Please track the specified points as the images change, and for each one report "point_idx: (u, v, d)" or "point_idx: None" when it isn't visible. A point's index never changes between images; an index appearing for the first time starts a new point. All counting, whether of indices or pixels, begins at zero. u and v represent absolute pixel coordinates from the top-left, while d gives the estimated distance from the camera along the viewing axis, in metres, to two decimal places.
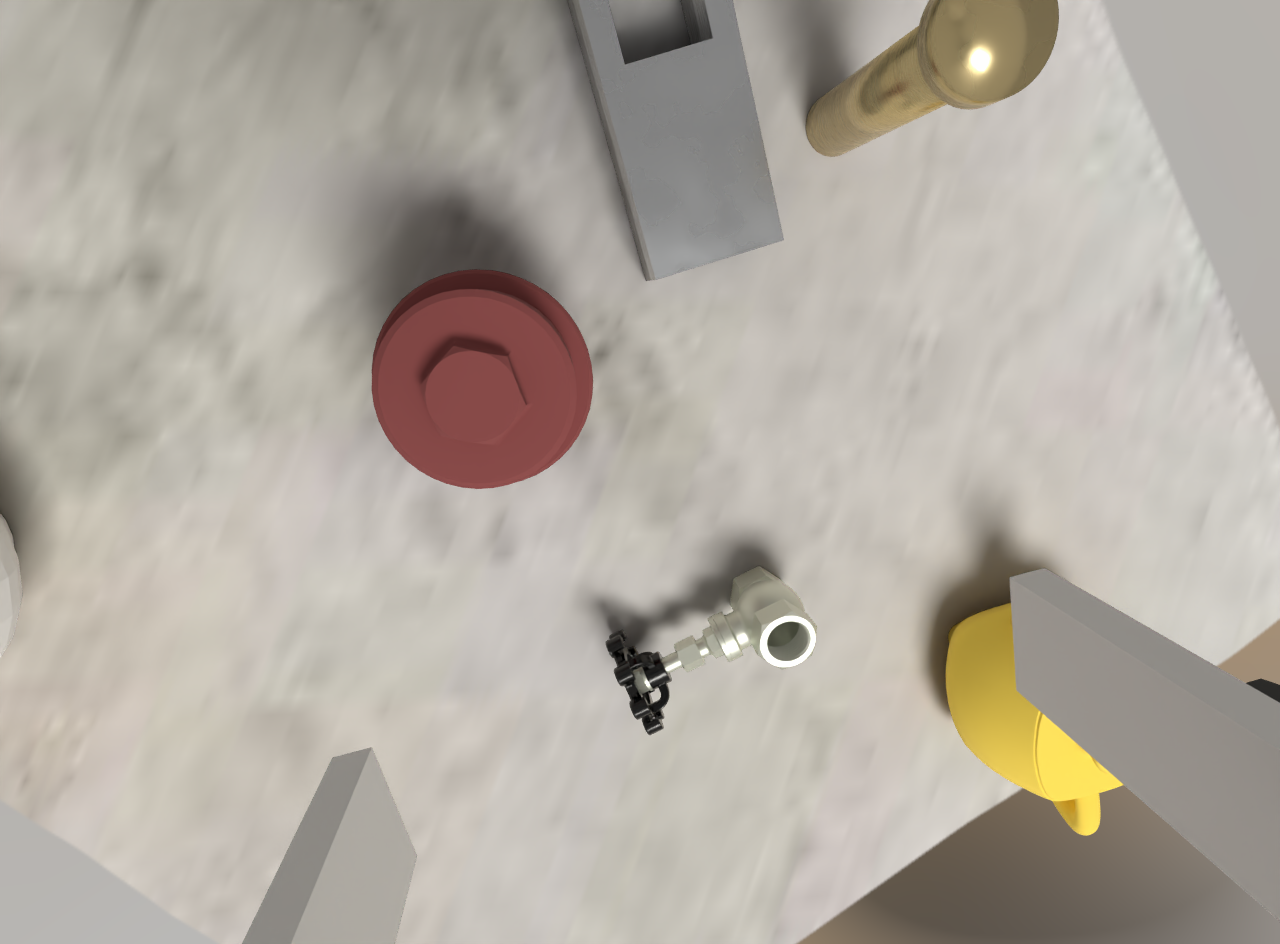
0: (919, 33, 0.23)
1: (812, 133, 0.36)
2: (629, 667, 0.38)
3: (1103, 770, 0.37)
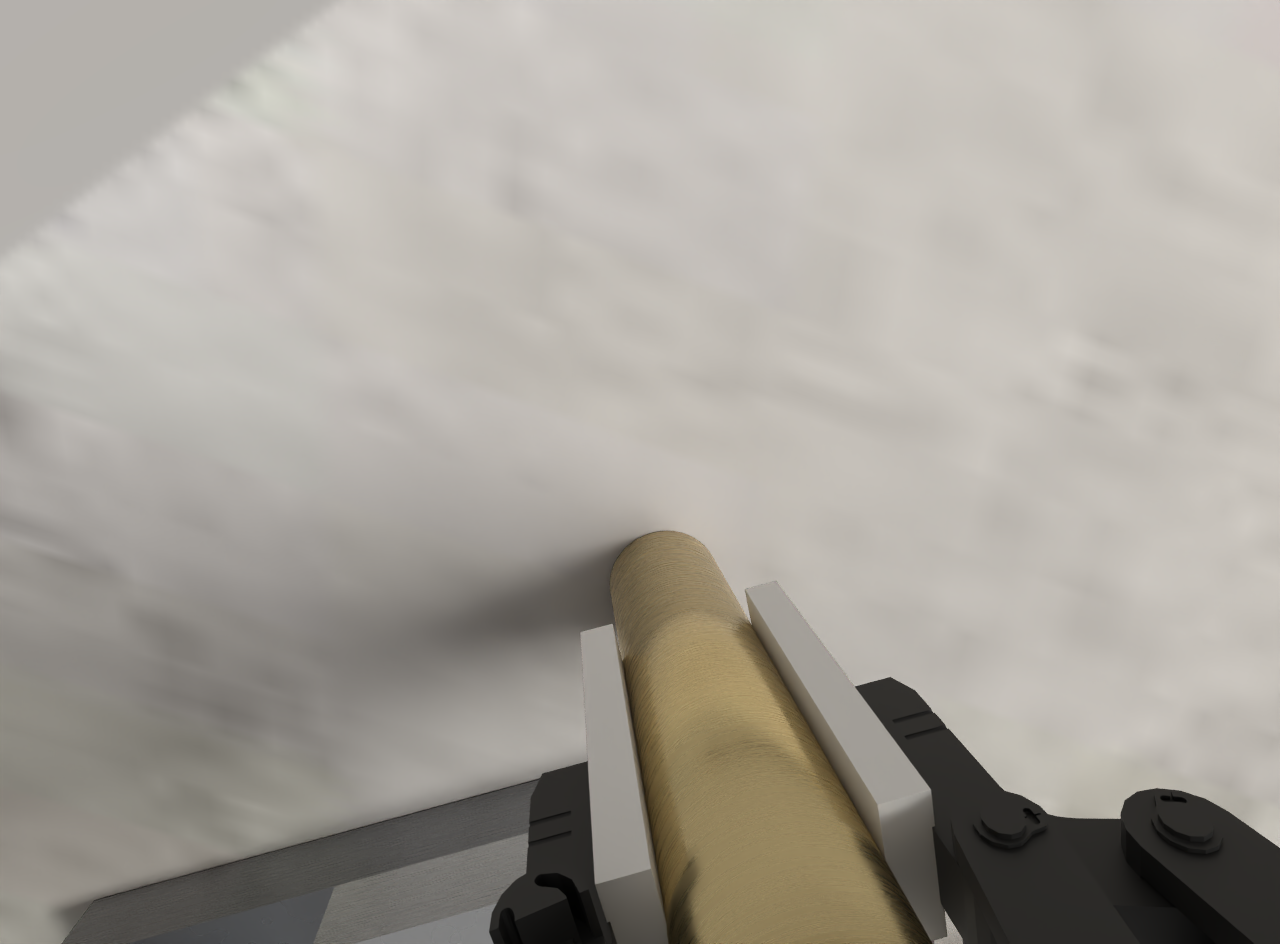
0: None
1: None
2: None
3: None
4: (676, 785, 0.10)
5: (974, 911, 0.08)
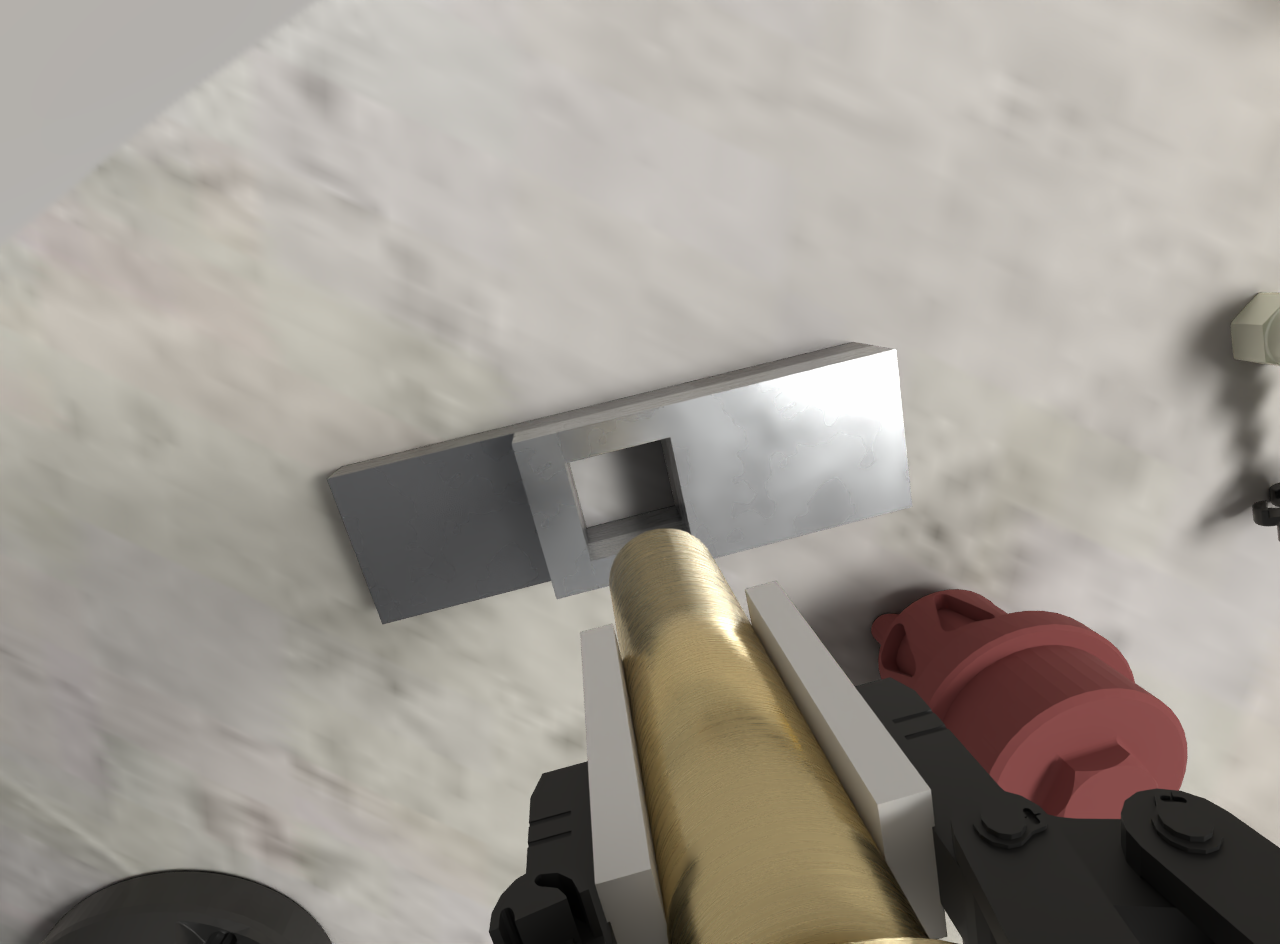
0: None
1: None
2: None
3: None
4: (674, 774, 0.10)
5: (974, 911, 0.08)
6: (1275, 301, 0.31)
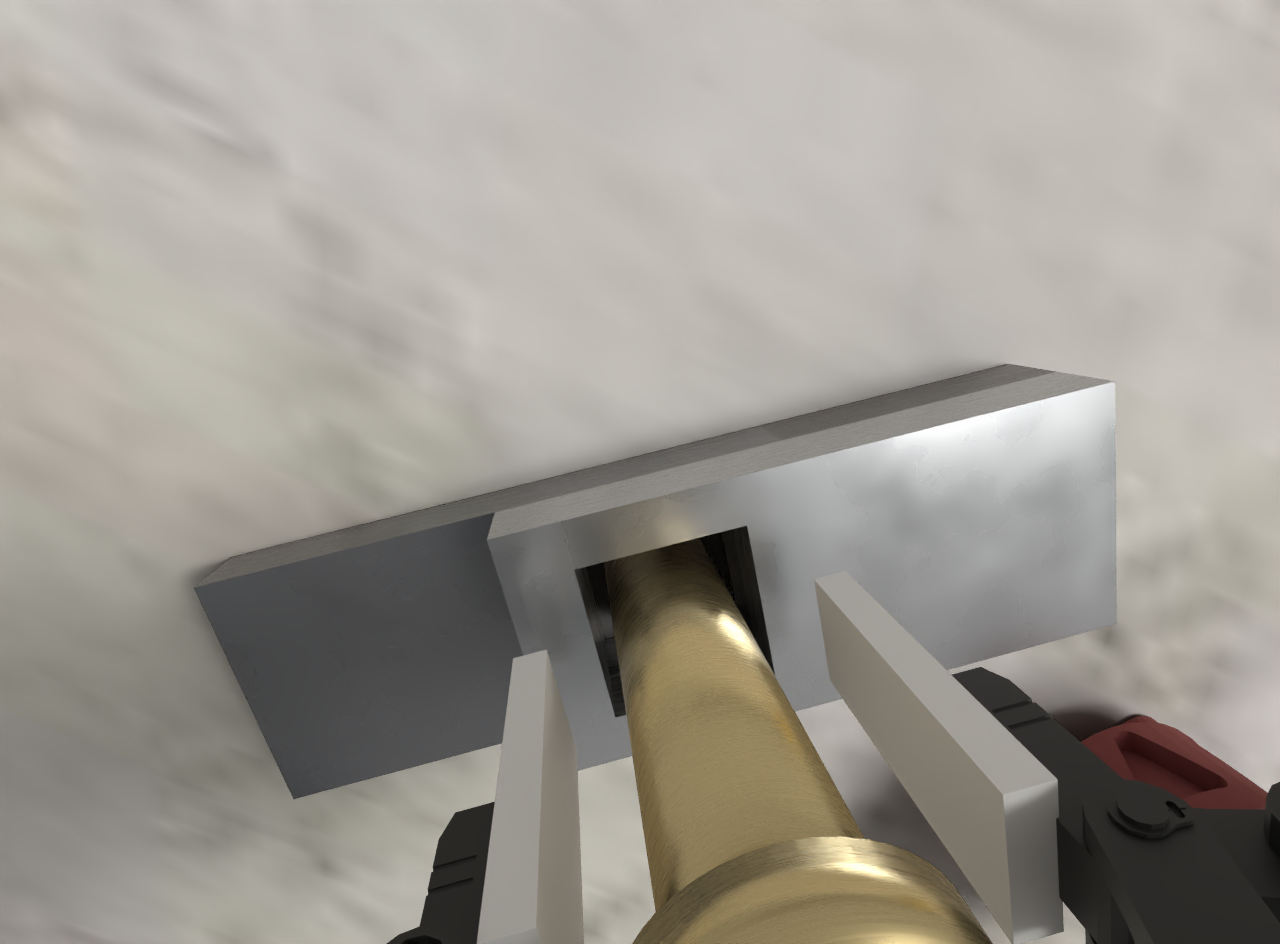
0: None
1: None
2: None
3: None
4: (656, 725, 0.11)
5: (1103, 898, 0.08)
6: None
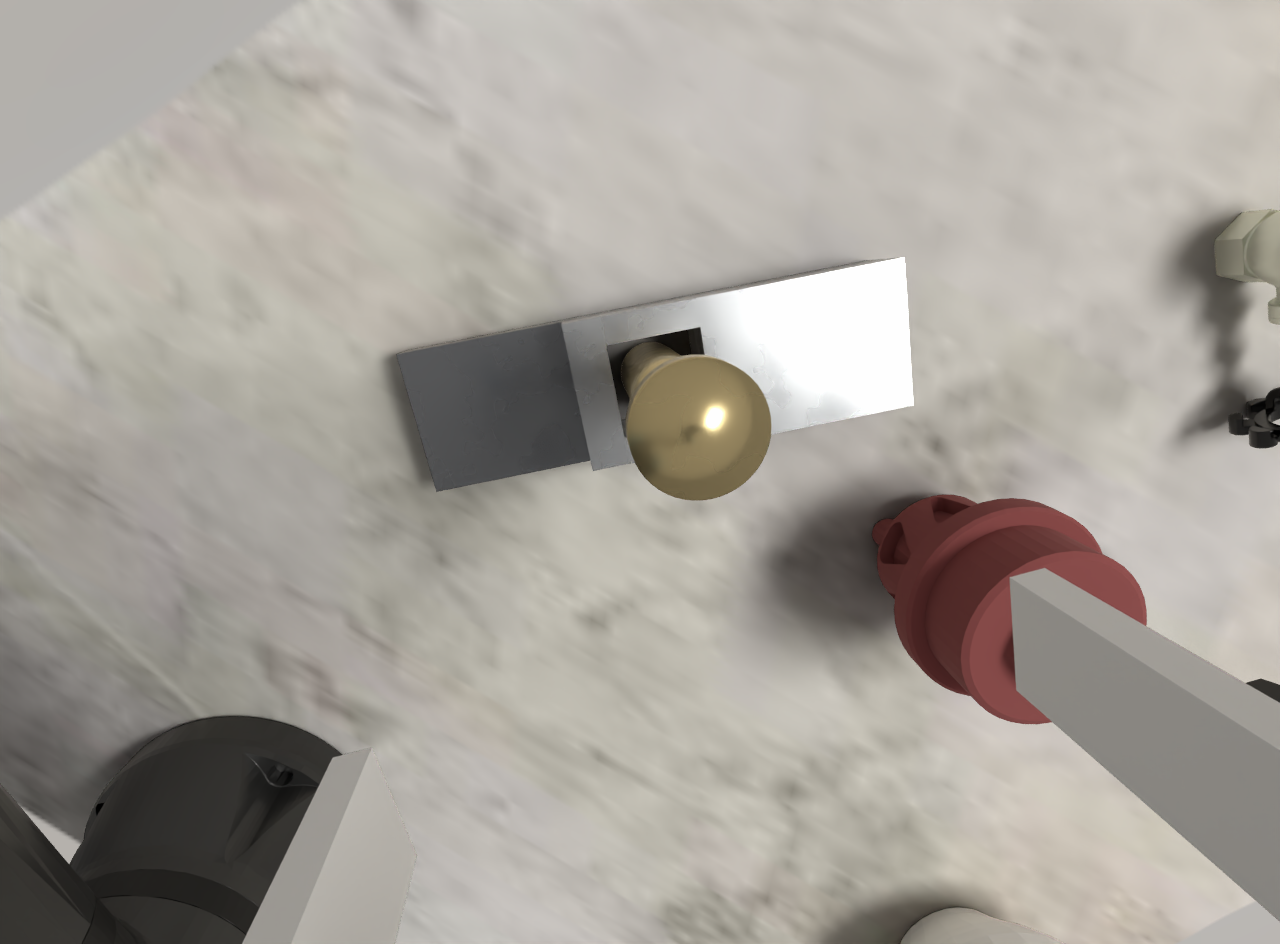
0: None
1: None
2: None
3: None
4: None
5: None
6: (1255, 218, 0.34)
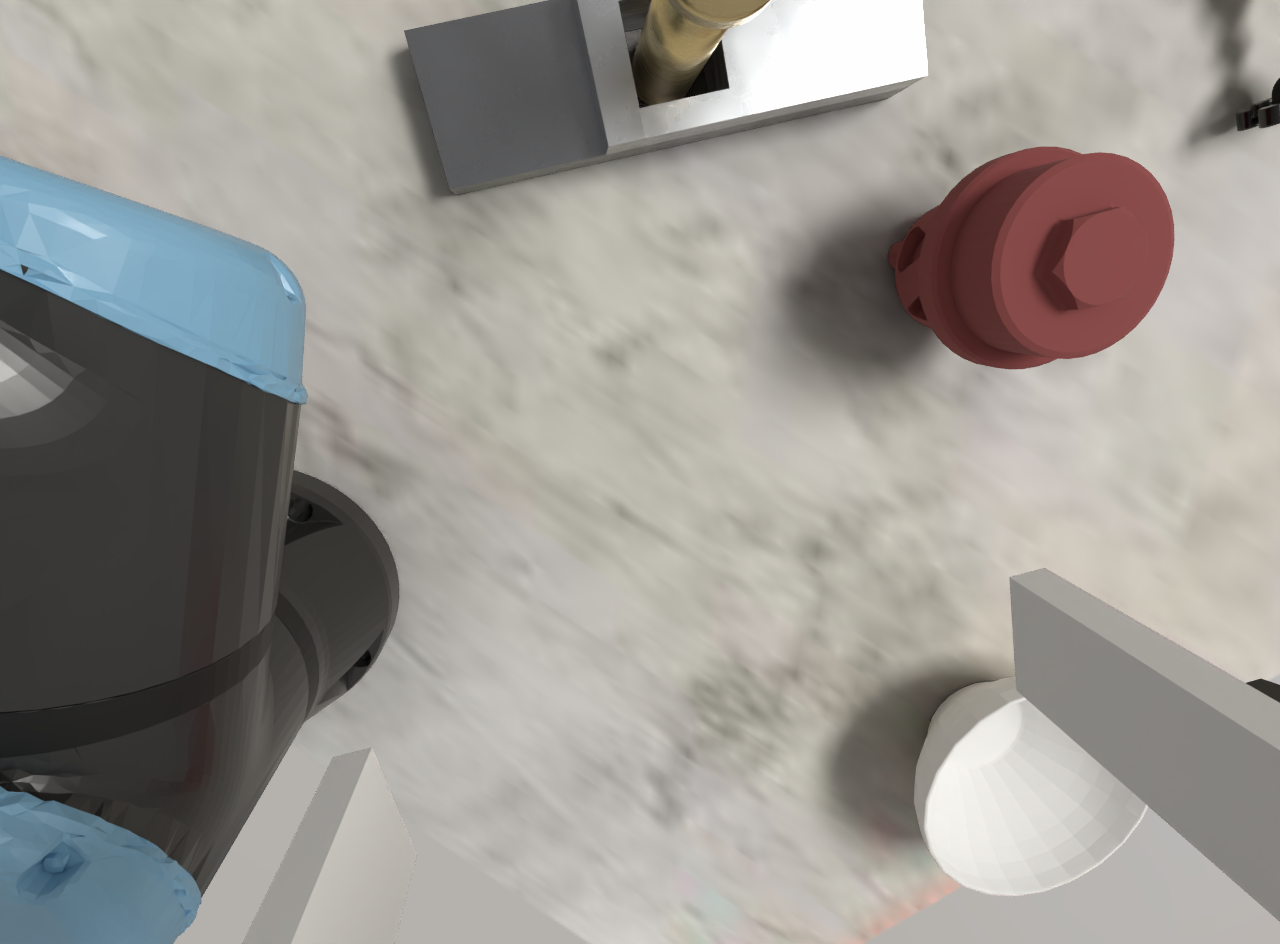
0: (711, 26, 0.22)
1: None
2: None
3: None
4: None
5: None
6: None
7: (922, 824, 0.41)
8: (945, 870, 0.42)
